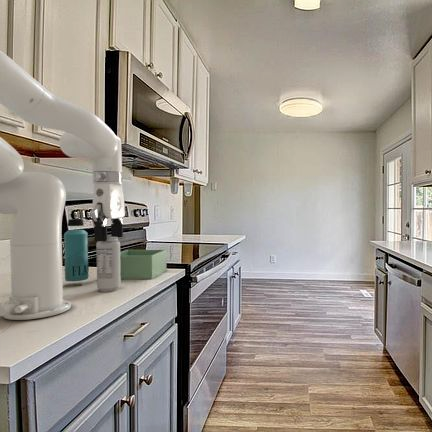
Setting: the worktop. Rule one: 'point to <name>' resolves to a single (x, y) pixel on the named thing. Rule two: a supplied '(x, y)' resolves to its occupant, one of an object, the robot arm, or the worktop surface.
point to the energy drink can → (108, 264)
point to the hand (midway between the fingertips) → (109, 239)
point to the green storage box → (142, 263)
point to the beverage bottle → (76, 252)
